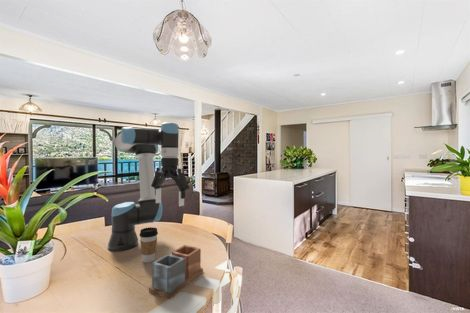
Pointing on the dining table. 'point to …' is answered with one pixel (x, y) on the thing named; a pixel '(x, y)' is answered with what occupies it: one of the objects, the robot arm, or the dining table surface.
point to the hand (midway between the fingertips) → (169, 204)
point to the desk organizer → (175, 271)
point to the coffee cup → (148, 243)
